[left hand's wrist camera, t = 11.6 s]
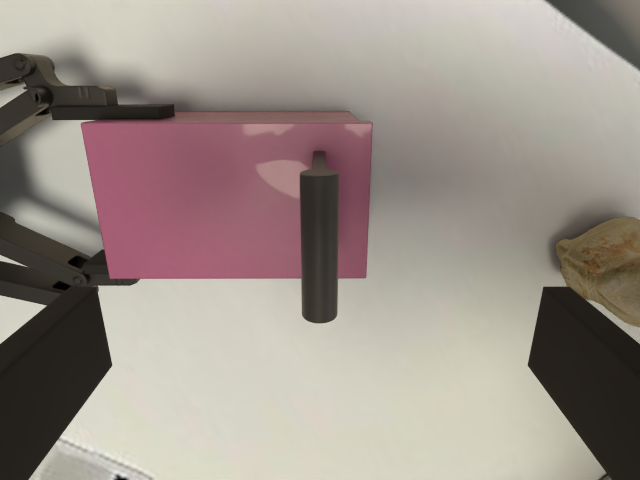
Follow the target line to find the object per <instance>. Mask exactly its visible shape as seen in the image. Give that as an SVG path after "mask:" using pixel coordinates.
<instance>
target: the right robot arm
mask: <svg viewBox="0 0 640 480" xmlns="http://www.w3.org/2000/svg"><path fill="white" fill-rule="evenodd" d="M54 69H55V67H54V63H53V62H52V60H51V59H50V58H49V57H46V56H41V55H31V54H21V53H16V54H12V55H9V56H5V57H2V58H0V90H3V89H7V88H10V87H14V86H17V85H20V84H24V83H25V84H26V85H27V86H26V87H24V89H28V90H27V91H25V92H24V93H22V94H21V95H19V96H18V97H16V98H15V99H13V100H12V101H10V102H9V103H7V104H6V105H4V106H3V107H1V108H0V147H1V146H3V145H4V144H6V143H7V142H9V141H11V140H12V139H14V138H15V137H17V136H18V135H20V134H22V133H23V132H25V131H26V130H28V129H29V128H31V127H33V126H34V125H36V124H37V123H39V122H40V121H42V120H43V119H45V118H47V117H48V116H50V115H51V114H52V119H53V120H101V119H165V118H169V117H173V116H175V111H174V105H118V102H117V96H116V90H115V89H113V88H111V87H108V86H67V85H64V84H63V83H61V82H60V81H59V80H58V78H57V77H56V75H55V73H54ZM0 255H2V256H5V257H7V258H9V259H11V260H14V261H16V262H18V263H21V264H23V265H25V266H27V267H25V266H20V265H16V264H11V263H7V262H2V261H0V295H2V296H6V297H11V298H16V299H20V300H25V301H29V302H34V303H38V304H43V305H49V304H50V303H51V302H52V301H54V300H55V299H56V298H57V297H59V296H60V295H61V294H62V293H63V292H65V291H66V290H67V289H68V288H70V287H97V292H98V291H99V289H98V286H97V285H133V284H135V283H137V282H138V281H139V280H140V279H110V277H109V271H108V266H107V261H106V255H105V250H101V251H100V252H98V253H97V254H96V255H94V256H93V257H90V256H87V255H85V254H83V253H81V252H79V251H76V250H74V249H72V248H70V247H68V246H65V245H63V244H61V243H59V242H57V241H54V240H52V239H50V238H48V237H46V236H43V235H41V234H39V233H37V232H35V231H32V230H30V229H28V228H26V227H24V226H21V225H19V224H17V223H15V219H14V218H13V217H11V216H9V215H6V214H4V213H2V212H0ZM29 267H30V268H29Z"/></svg>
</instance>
